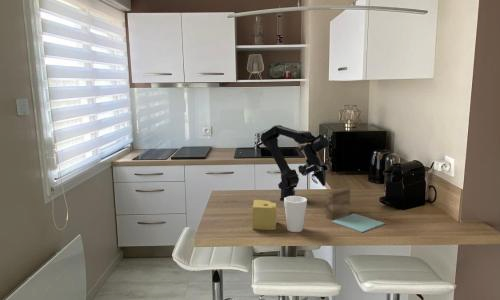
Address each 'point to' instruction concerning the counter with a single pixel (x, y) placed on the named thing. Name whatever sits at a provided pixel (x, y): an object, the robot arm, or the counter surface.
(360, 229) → the mat
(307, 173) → the robot arm
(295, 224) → the foam cup
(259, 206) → the cheese
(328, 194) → the walnut block
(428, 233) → the counter surface
